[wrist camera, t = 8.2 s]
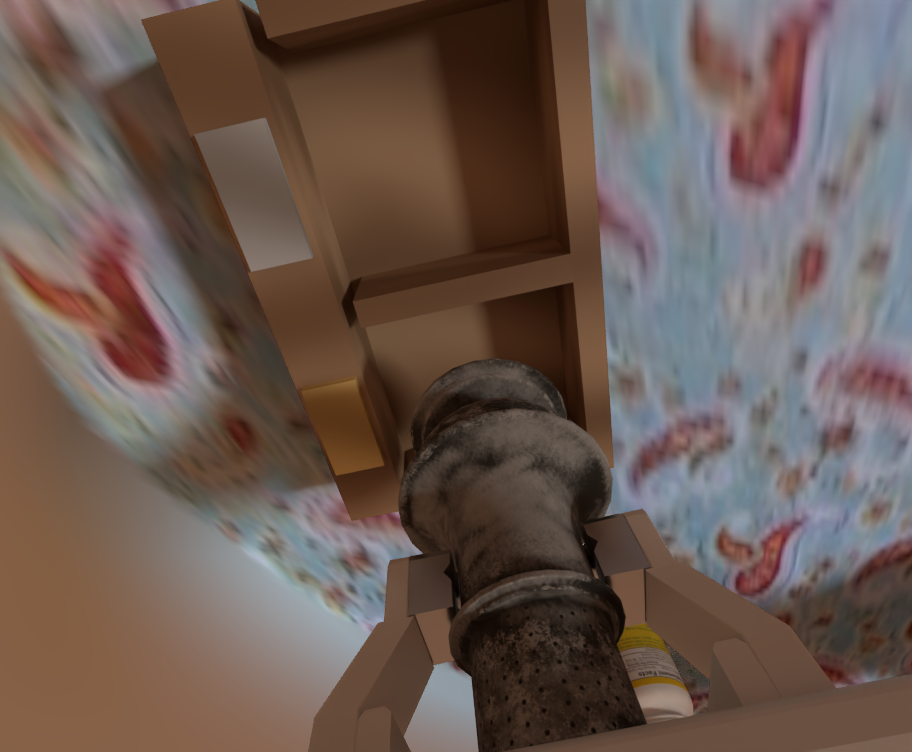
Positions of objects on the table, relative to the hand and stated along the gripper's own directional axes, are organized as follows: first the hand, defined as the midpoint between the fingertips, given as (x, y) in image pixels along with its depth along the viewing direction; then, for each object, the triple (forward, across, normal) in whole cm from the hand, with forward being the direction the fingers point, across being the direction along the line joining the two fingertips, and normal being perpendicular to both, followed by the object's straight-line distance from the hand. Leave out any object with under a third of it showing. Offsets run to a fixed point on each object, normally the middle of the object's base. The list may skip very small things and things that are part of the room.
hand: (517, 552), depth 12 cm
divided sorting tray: (+11, +1, -4) cm, 12 cm away
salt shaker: (+5, 0, 0) cm, 5 cm away
